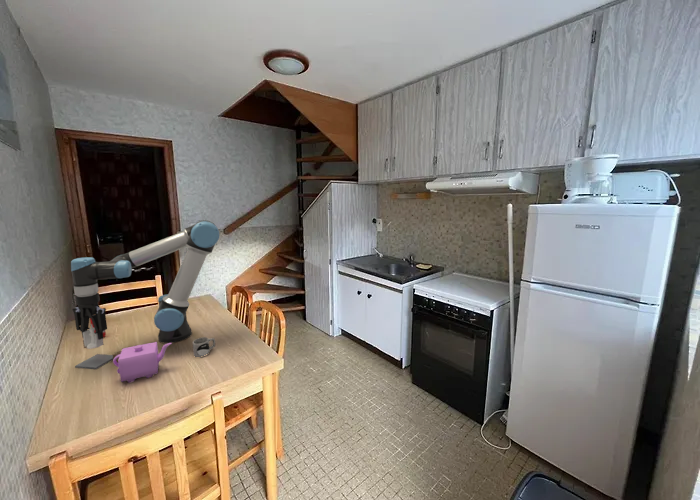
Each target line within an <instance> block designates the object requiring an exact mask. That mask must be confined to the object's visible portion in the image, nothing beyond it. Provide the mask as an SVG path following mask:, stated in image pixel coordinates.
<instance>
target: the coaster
mask: <svg viewBox="0 0 700 500" xmlns="http://www.w3.org/2000/svg"><path fill="white" fill-rule="evenodd" d="M112 361H113V354H103V353H97V354H94V355H93V356H90V357H89V358H87V359H86V360H83V361H82V362H80V363H78V364H76V365H74V368H75V369H87V370H98V369H100V368H101V367H103V366H104V365H106V364H108V363H111V362H112Z"/></svg>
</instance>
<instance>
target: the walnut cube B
mask: <svg viewBox="0 0 700 500" xmlns="http://www.w3.org/2000/svg"><path fill="white" fill-rule="evenodd" d="M121 351H122V350H120V351H117V352H114V353H113V354H112V355H113V359H114V358H115V357H116V356H117V355H119V354H121ZM118 359H119V358H117V359H116V362H117V363H118Z"/></svg>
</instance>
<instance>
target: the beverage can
mask: <svg viewBox="0 0 700 500" xmlns="http://www.w3.org/2000/svg"><path fill="white" fill-rule="evenodd" d="M92 316H93V315H92ZM89 323H90V325H91V324H92V326H93V328H94V325H93V323H92V320H91V318H89ZM95 332H96V331H95V330H94V333H95ZM106 335H107V332H106V330H104V331H103V339H104V338H105V337H106ZM94 336H95V335H94Z"/></svg>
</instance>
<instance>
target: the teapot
mask: <svg viewBox="0 0 700 500" xmlns="http://www.w3.org/2000/svg"><path fill="white" fill-rule="evenodd" d="M172 344H173V343H164V344H163V346H162V347H161V350H160V352H159V348H158V347H159V346H158V342H157V341H154V342H150V343H149V342H148V343H143V344H138V345H134V346H129V347H124V348H122V349H121V350H120V351H121V354H119V355H117V356H116V357H115V358H114V359H113V360H112V363H113V365H114V366H116V367H117V369H116V372H117V374H119V377H120V378H119V379H120V382H121V383H122V382H123V383H124V382H126V381H127V383H129V384H130V383H133V382H135V381H136V379H138V378H139V379H140V378H143V377H146V379H150V378H149V377H151V378H153V377H154V376H153V375H157V374H158V373H159V365H160V362H161V361H162V360H163V358H164V356H165V355H166V354H165V353H166V350H167V348H168V347H169V346H170V345H172ZM117 358H119V359H118V363H117V362H116V359H117ZM152 376H153V377H152Z"/></svg>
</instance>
